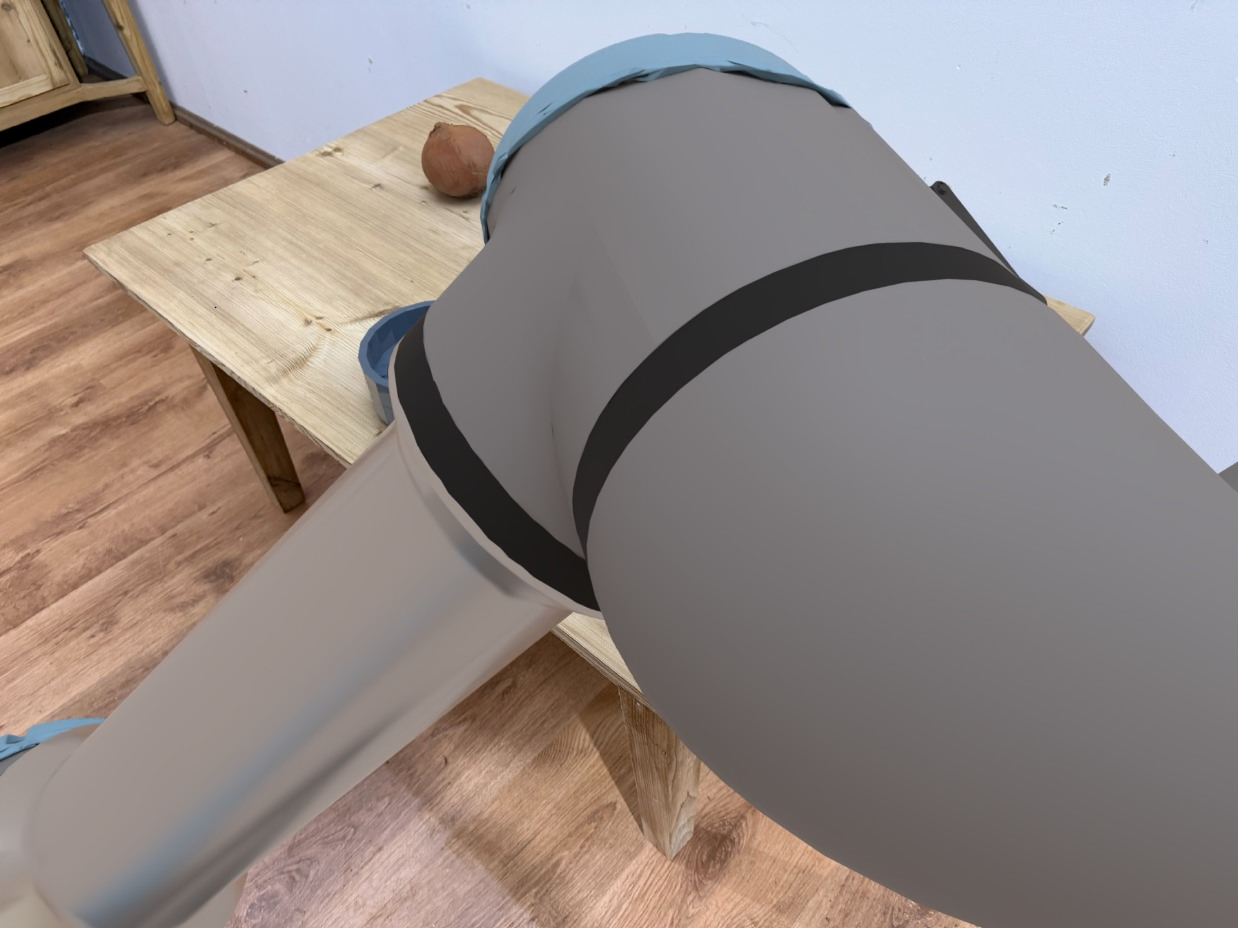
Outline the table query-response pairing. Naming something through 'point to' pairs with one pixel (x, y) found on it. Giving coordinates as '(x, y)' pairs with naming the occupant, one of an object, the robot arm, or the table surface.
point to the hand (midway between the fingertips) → (787, 135)
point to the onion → (457, 159)
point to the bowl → (386, 353)
